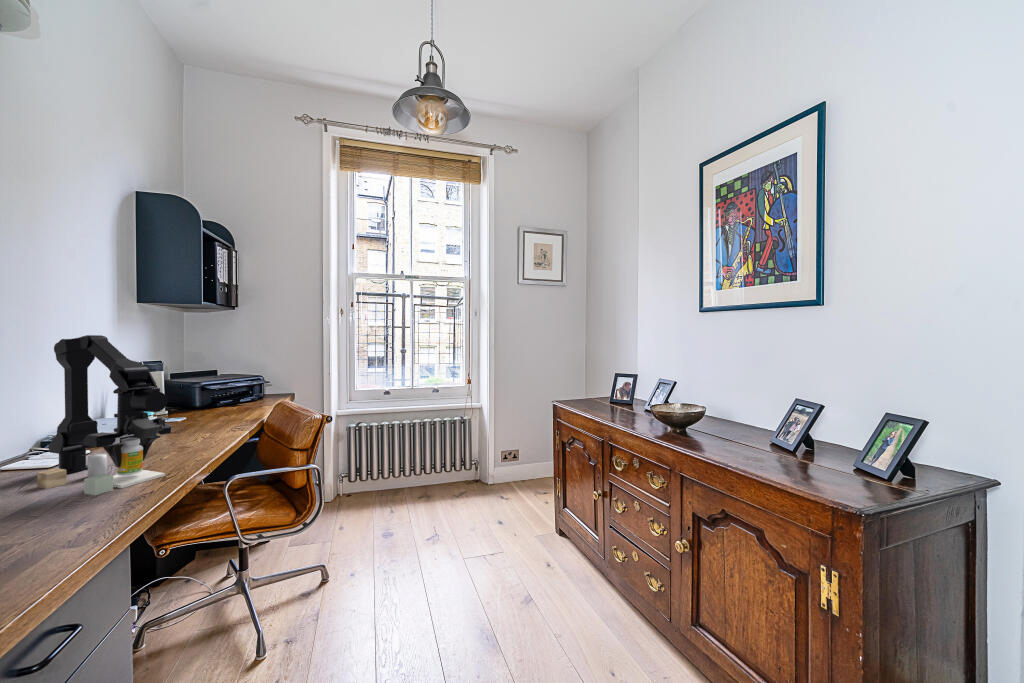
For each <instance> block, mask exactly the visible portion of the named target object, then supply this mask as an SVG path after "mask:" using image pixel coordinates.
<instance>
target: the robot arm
mask: <svg viewBox="0 0 1024 683" xmlns="http://www.w3.org/2000/svg"><path fill="white" fill-rule="evenodd" d="M53 352H54V355H55V360H56V361H57V363H59V365H60V366H61V367H62V368H63V370H64V372H63V373H64V375H63V376H64V418H63V419H62V421H61V422H60V423H59V424H58V426H57V428H56V434H55V435H54V437H53V439H52V440H51V441H50V442H49V443H48V446H47V448H48V451H49V454H50V453H52V454H58V468H59V469H65V470H66V475H67V474H71V473H75V472H80V471H85V470H88V464H87V449H88V448H89V449H90V448H103V449H104V450H105V452H106V454H107V455H108V456H109V457H110V459H111V460H112V462H113V464H114V466H115V467H116V468H117V467H120V466H121V448H122V446H123V445H124V444H122V443H121V440H122V439H126V438H139V439H140V443H139V445H141V446H143V462H144V461H145V459H146V457H147V455H148V453H149V450H150V448H151V446H152V445H153V443H154V442H155V441H156V440H158V439H160V438H161V435H163V436H164V435H168V434H172V432H173V431H172V430H173V429H172V426H171V424H170V423H166V419H165V418H163V417H158V418H154V419H149V414H148V413H159V412H161V411H163V410H164V409H165V408H166V407H167V405H168V402H169V400H168V398H167V395H166V394H165V393H163V392H161V387H158V386H157V381H156V380H155V378H154V377H153V375H152V373H151V371H150V370H149V368H148V367H147V366H146V365H144V364H142V363H141V362H139V361H135V360H131V359H129V358H127V357H126V356H125V354H123V353H122V351H120V350H119V349H118V348H117V347H116V346H114V345H113V344H112V343H111V342H110V341H109V339H108V338H107V336H104V335H99V334H98V335H96V334H95V335H94V334H93V335H92V334H91V335H90V334H88V335H83V336H79V337H75V338H61V339H60V340H59V341H58V342H56V343H55V344H54V346H53ZM95 358H96V359H97V360H98V361H100V363H101V364H103V365H104V366H105V367H106V368H107V369H108V370H109V372H110V373H109V378H110V379H111V381H112V383H113V384H114V385H115V386H116V387H117V388H116V389H114V390H113V392H112V393H113V394H117V406H116V407H117V409H116V410H117V412H116V413H113V418H117V419H116V423H117V424H116V427H115V428H113V432H114V433H111V432H99V431H98V424H99V423H98V421H97V420H96V419H95V420H93V418H91V416H90V415H89V384H88V383H89V382H88V381H89V380H88V379H89V378H88V376H89V375H88V373H89V370H88V368H89V367H90V366H91V364H92V363H93V362H94V360H95ZM158 434H159V435H158Z"/></svg>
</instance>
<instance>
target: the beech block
mask: <svg viewBox="0 0 1024 683" xmlns="http://www.w3.org/2000/svg"><path fill="white" fill-rule="evenodd" d="M36 475H37V476H36V478H37V479H36V480H37V481H36V482H37V485H36V486H37V488H40V489H41V488H42V489H46V490H47V489H51V488H55V487H60V486H64V485H66V484H67V474H66V470H65V469H59V467H56V468H53V469H52V468H51V469H47V470H42V471H39V472H37V474H36Z"/></svg>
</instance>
